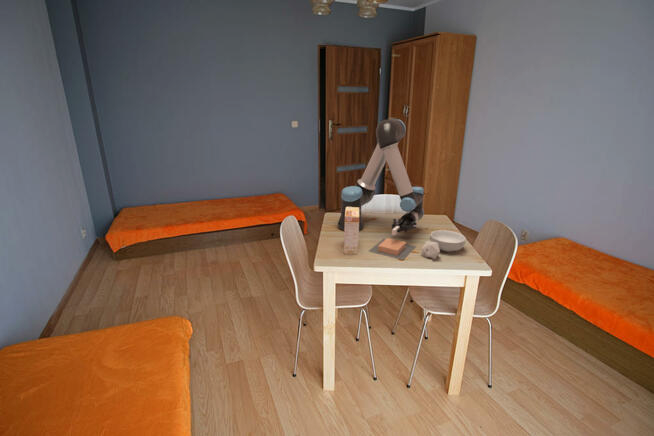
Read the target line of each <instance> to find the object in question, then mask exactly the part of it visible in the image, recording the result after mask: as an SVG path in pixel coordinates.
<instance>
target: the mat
mask: <svg viewBox="0 0 654 436" xmlns="http://www.w3.org/2000/svg"><path fill="white" fill-rule="evenodd" d="M386 239H387V238H386ZM386 239H385V238H382V239H381V240H380V241H379V242H378V243H376V244H375V245H373V247H372V248H370V249H369V250H368V253H369V252H370V253H373V254H377V255H382V256H385V257H389V258H394V259H396V260H400V261H404V260H405V259H406V258H407V257H408V256H409V255H410V254H411V253H412V252H413V251H414V250H415V249H416V248H417V246H415V245H411V244H407V243H406V247H405V248H404V249H403V250H402V251H401V252H400V253H399V254H398V255H397V256H395V255H391V254H387V253H383V252H379V251H378V245H380V244H381V243H382V242H383V241H384V240H386Z"/></svg>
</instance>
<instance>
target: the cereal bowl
mask: <svg viewBox="0 0 654 436" xmlns="http://www.w3.org/2000/svg"><path fill="white" fill-rule="evenodd" d="M466 240H467V239H466V236H465V235H463V234H461V233H460V232H456V231H453V230H448V229H439V230H433V231H432V232H431V233H430V236H429V241H431V242H437V243H438V245H439V249H440V251H442V252H446V253H448V252H449V253H451V252H455V251H457V252H458V251H459V250H461V249H463V247H464V246H465V244H466Z"/></svg>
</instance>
